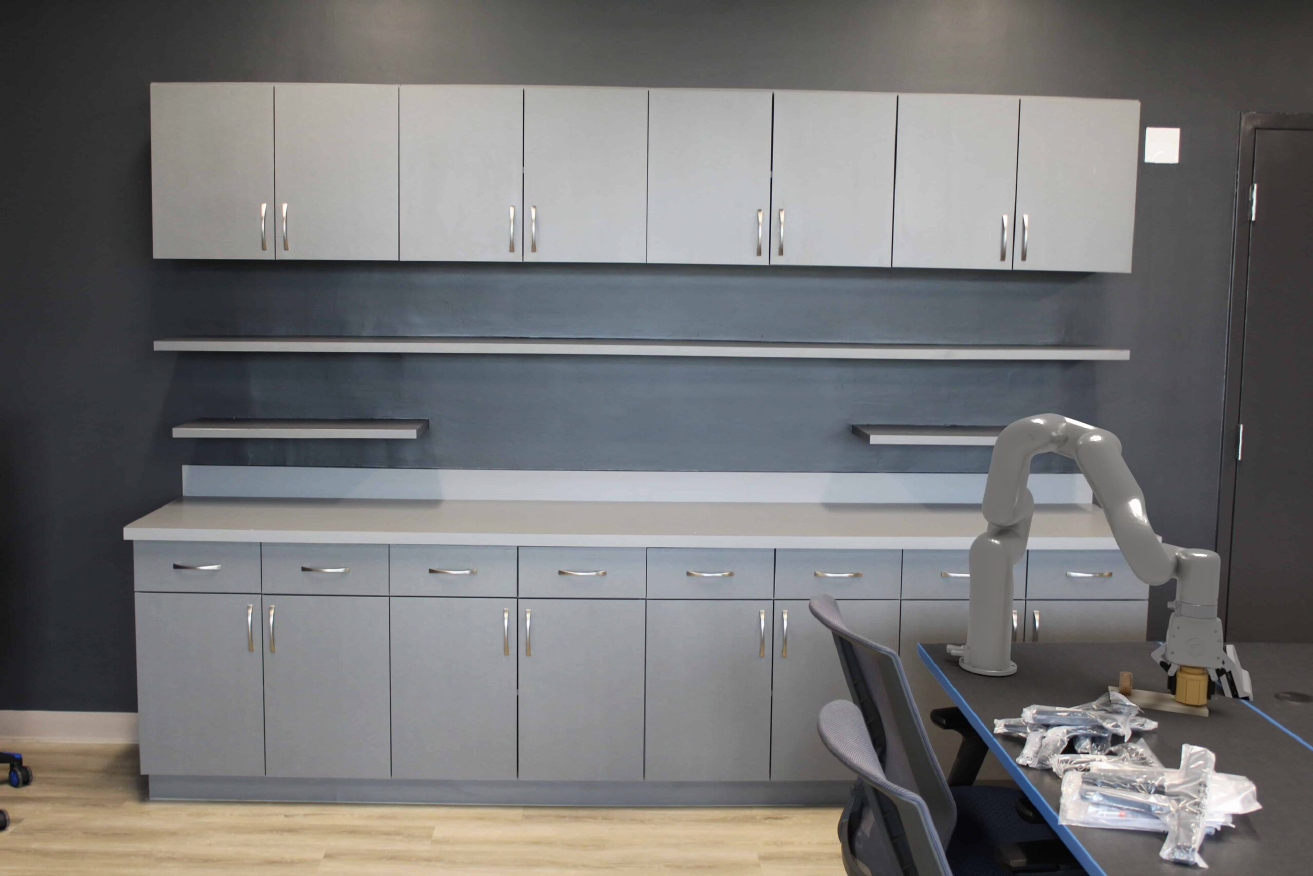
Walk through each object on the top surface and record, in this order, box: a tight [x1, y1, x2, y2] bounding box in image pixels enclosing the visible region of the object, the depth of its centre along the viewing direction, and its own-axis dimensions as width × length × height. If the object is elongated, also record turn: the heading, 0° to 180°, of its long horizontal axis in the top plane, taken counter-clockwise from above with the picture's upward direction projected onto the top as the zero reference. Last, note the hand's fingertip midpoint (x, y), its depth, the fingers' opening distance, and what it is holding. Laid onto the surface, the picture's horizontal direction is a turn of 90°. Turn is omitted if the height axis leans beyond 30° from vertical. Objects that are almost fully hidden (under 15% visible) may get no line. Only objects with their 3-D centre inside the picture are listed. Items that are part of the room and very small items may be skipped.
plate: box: [1107, 685, 1209, 717], centre depth 207 cm, size 18×8×1 cm, turn 69°
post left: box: [1118, 670, 1134, 696], centre depth 209 cm, size 2×2×4 cm
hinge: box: [1219, 644, 1254, 702], centre depth 218 cm, size 17×5×10 cm, turn 151°
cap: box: [1174, 665, 1209, 705], centre depth 204 cm, size 6×6×7 cm
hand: (1190, 694), depth 205 cm, fingers closed on cap, 5 cm apart
